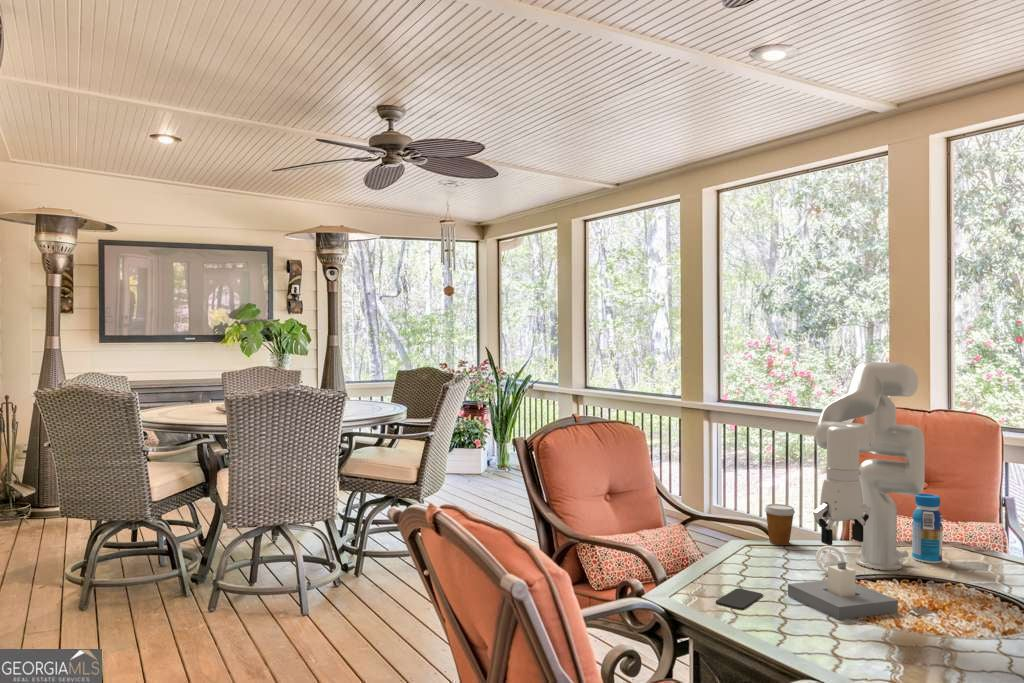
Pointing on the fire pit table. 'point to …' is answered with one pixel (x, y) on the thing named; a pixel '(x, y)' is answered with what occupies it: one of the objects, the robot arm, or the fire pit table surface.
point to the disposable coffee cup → (779, 523)
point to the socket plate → (842, 600)
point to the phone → (739, 599)
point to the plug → (841, 580)
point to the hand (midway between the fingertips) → (842, 542)
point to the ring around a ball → (828, 557)
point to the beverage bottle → (927, 529)
